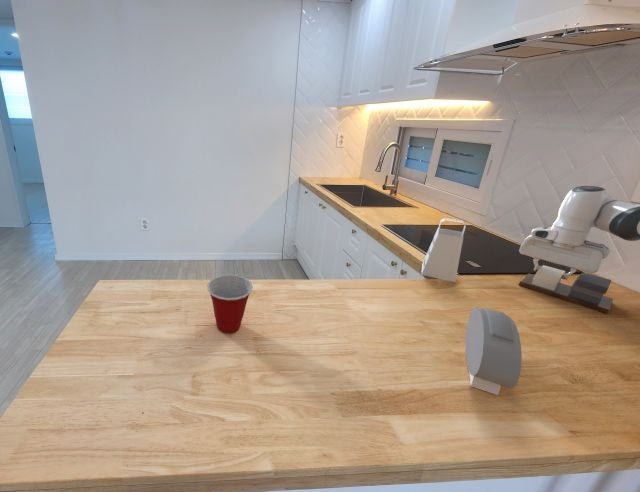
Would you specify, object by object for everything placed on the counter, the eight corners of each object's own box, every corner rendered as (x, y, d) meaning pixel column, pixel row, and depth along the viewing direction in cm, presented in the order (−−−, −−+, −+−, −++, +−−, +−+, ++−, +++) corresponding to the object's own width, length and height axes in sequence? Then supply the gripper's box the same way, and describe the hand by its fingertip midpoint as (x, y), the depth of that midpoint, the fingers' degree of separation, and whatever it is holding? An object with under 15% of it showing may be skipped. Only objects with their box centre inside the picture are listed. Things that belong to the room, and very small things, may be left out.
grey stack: (602, 296, 109) (611, 279, 107) (599, 305, 103) (608, 288, 100) (572, 287, 114) (580, 271, 112) (567, 295, 108) (575, 278, 106)
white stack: (559, 283, 116) (563, 275, 115) (554, 291, 110) (558, 282, 109) (537, 276, 120) (540, 268, 119) (530, 283, 115) (534, 275, 113)
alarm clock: (505, 408, 64) (531, 354, 59) (468, 395, 67) (489, 342, 62) (490, 344, 83) (509, 299, 78) (461, 336, 86) (478, 292, 81)
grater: (421, 264, 129) (436, 214, 121) (453, 271, 124) (470, 219, 117) (421, 274, 120) (436, 221, 112) (455, 282, 116) (473, 227, 108)
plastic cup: (197, 332, 81) (198, 288, 76) (218, 311, 90) (220, 270, 86) (238, 346, 77) (241, 300, 72) (256, 322, 86) (259, 281, 82)
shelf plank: (610, 302, 108) (613, 298, 108) (607, 314, 101) (609, 309, 100) (526, 276, 124) (528, 273, 123) (518, 285, 116) (519, 281, 116)
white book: (563, 275, 115) (565, 271, 114) (558, 282, 109) (560, 278, 109) (541, 269, 119) (543, 265, 118) (535, 275, 113) (537, 271, 113)
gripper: (613, 244, 103) (592, 284, 109) (530, 226, 118) (516, 262, 123) (611, 248, 100) (590, 289, 105) (526, 229, 114) (511, 266, 119)
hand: (549, 274), depth 114 cm, fingers closed on white book, 6 cm apart
